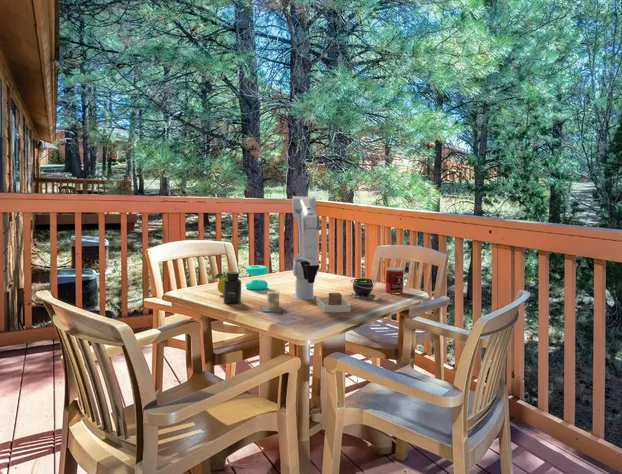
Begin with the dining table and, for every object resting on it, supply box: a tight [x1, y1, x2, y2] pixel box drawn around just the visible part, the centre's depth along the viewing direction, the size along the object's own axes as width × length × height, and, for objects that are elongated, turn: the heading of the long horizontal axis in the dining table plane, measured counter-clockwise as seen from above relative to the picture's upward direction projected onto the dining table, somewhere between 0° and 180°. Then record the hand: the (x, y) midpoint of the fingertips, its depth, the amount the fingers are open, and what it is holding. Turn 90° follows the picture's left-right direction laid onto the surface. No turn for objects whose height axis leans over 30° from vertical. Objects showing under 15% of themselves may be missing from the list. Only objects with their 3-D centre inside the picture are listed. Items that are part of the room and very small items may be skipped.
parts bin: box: [315, 296, 352, 313], centre depth 193 cm, size 14×10×3 cm
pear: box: [214, 271, 227, 296], centre depth 212 cm, size 7×6×10 cm
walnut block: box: [328, 292, 343, 305], centre depth 189 cm, size 4×4×6 cm
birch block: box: [266, 290, 280, 309], centre depth 190 cm, size 4×4×6 cm
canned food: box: [384, 266, 404, 294], centre depth 224 cm, size 8×8×11 cm
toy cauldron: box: [349, 271, 377, 301], centre depth 213 cm, size 15×15×11 cm
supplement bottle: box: [223, 271, 242, 305], centre depth 199 cm, size 7×7×12 cm
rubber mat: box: [260, 304, 283, 313], centre depth 190 cm, size 9×9×1 cm
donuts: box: [245, 264, 269, 291], centre depth 227 cm, size 10×10×10 cm
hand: (309, 281), depth 195 cm, fingers open, 7 cm apart
